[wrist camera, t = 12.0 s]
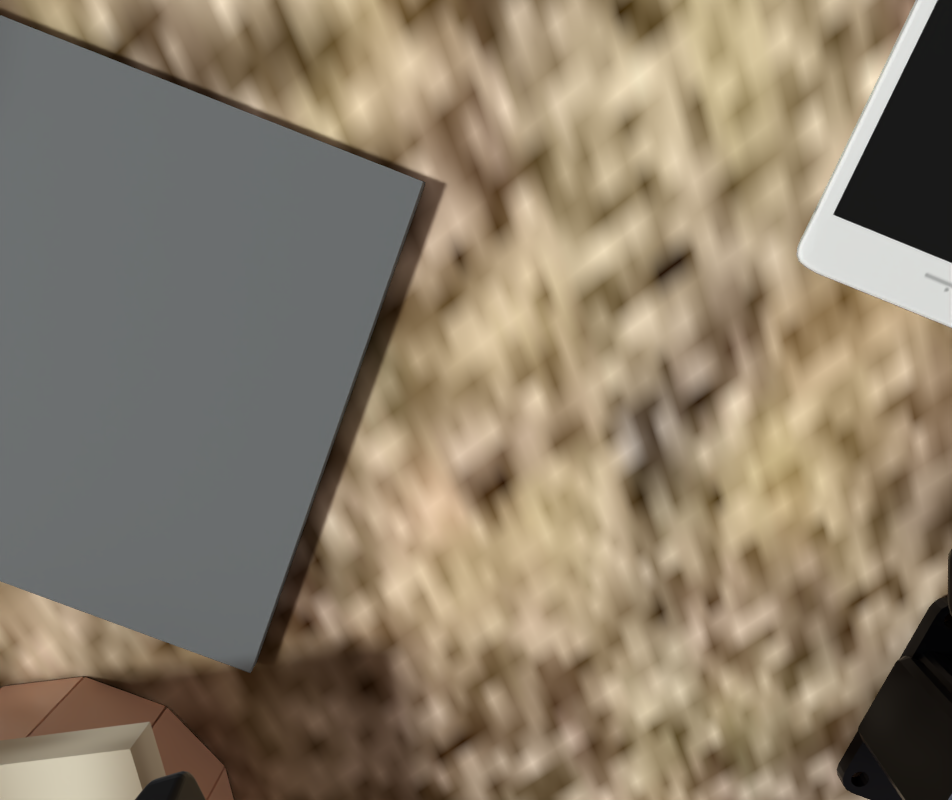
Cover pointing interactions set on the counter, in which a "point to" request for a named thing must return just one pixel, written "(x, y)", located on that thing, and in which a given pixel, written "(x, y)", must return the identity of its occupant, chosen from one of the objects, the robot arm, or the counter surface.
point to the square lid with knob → (80, 764)
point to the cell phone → (896, 180)
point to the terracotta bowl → (108, 724)
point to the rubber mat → (172, 340)
